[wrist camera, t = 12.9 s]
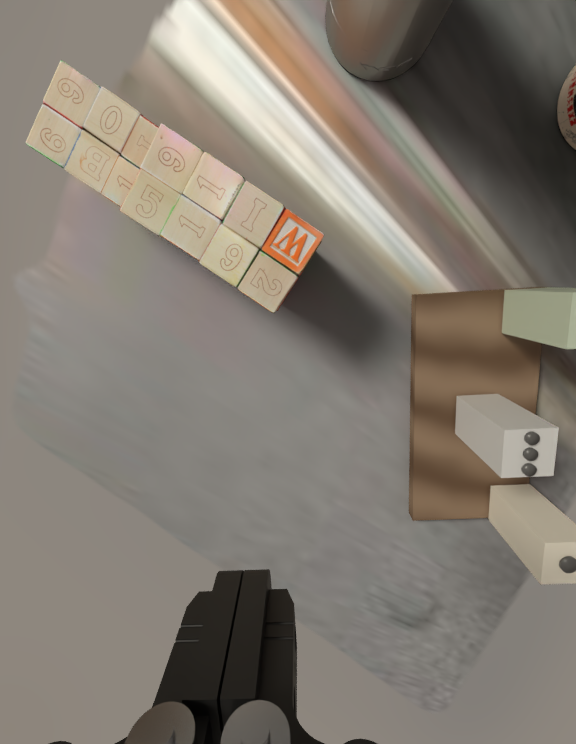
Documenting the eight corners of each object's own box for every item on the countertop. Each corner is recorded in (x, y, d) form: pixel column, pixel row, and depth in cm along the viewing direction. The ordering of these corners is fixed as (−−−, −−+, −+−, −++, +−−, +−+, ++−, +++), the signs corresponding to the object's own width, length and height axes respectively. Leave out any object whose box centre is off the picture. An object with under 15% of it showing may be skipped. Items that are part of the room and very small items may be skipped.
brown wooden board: (411, 294, 37) (416, 295, 36) (537, 287, 37) (547, 287, 35) (408, 512, 43) (412, 520, 41) (518, 508, 42) (525, 516, 41)
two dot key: (504, 290, 35) (575, 292, 26) (548, 287, 35) (636, 289, 26) (501, 333, 36) (569, 350, 27) (544, 330, 36) (627, 346, 27)
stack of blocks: (91, 177, 36) (-13, 124, 24) (122, 114, 34) (29, 24, 23) (281, 305, 38) (274, 315, 26) (317, 250, 37) (326, 234, 25)
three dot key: (456, 395, 38) (506, 431, 29) (497, 393, 37) (561, 429, 28) (455, 433, 39) (503, 480, 29) (495, 431, 38) (555, 477, 29)
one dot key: (490, 485, 40) (547, 545, 31) (529, 484, 40) (598, 543, 31) (488, 519, 41) (542, 587, 32) (526, 518, 40) (592, 585, 31)
